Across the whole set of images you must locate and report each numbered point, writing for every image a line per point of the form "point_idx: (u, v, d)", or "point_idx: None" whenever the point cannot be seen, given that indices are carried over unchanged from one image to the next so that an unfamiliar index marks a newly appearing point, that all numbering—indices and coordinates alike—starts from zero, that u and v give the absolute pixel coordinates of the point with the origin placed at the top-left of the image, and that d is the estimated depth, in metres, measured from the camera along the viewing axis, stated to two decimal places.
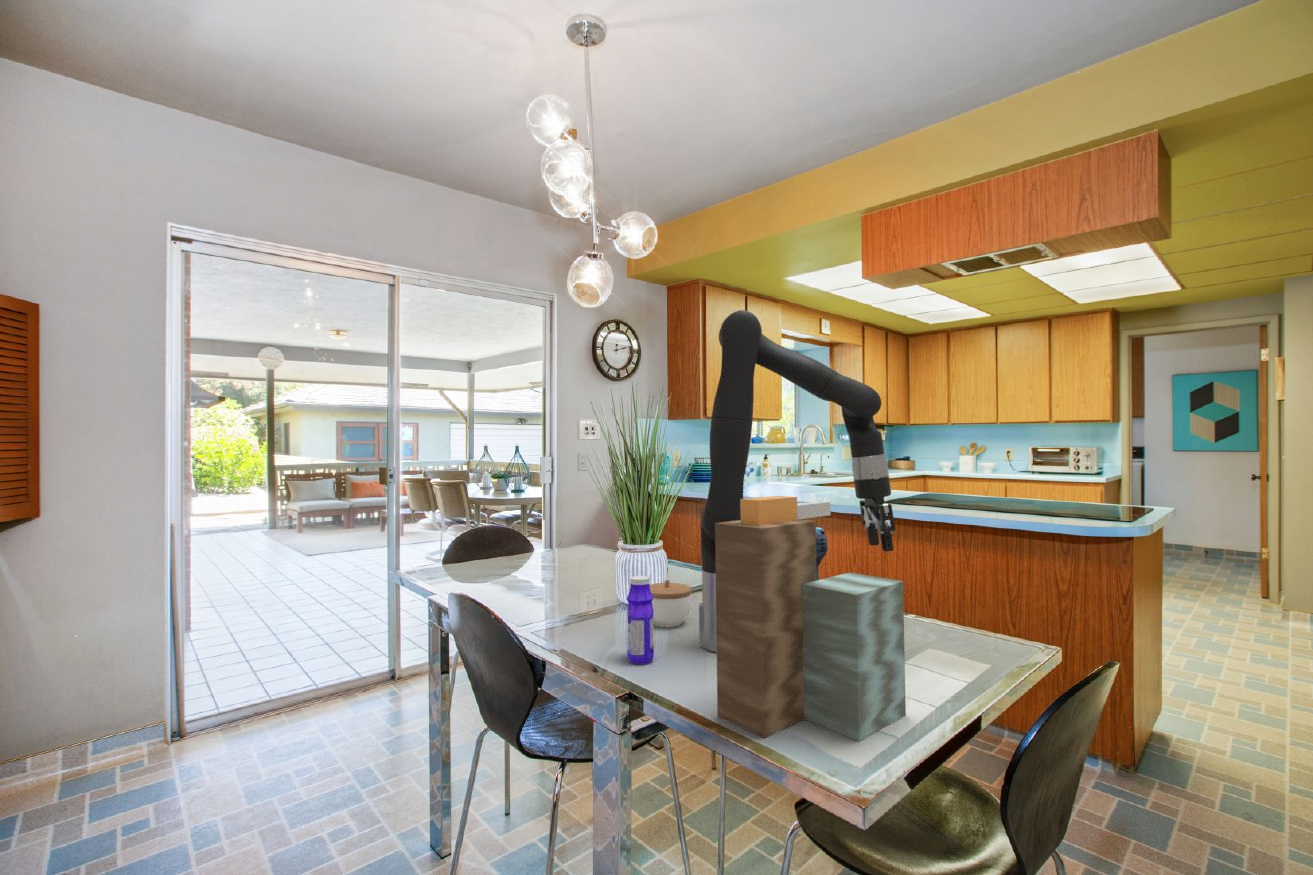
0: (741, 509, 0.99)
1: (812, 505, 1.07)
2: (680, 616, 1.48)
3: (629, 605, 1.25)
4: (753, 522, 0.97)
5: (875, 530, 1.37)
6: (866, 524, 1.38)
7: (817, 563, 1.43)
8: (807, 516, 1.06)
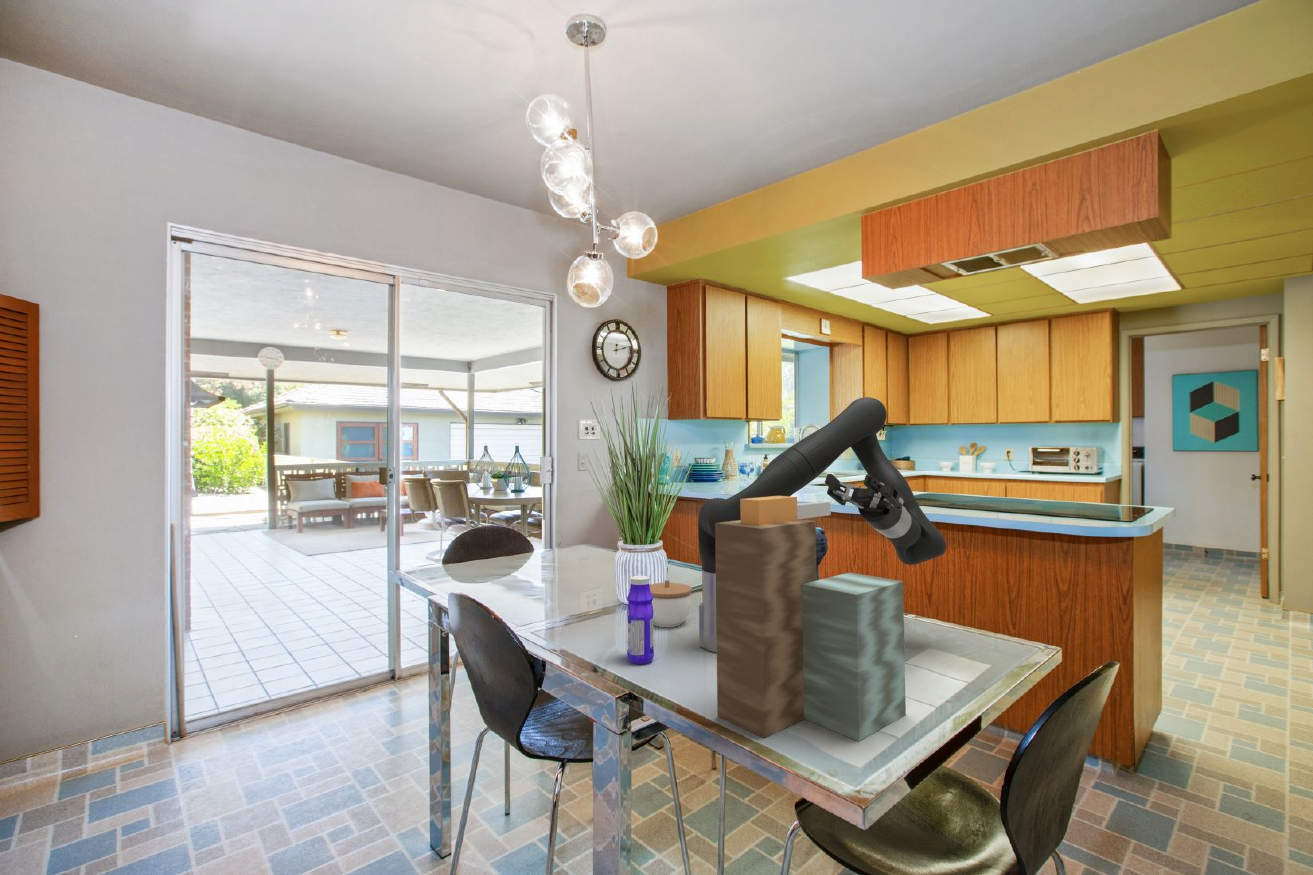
0: (741, 509, 0.99)
1: (812, 505, 1.07)
2: (680, 616, 1.48)
3: (629, 605, 1.25)
4: (753, 522, 0.97)
5: (836, 488, 1.21)
6: None
7: (817, 563, 1.43)
8: (807, 516, 1.06)
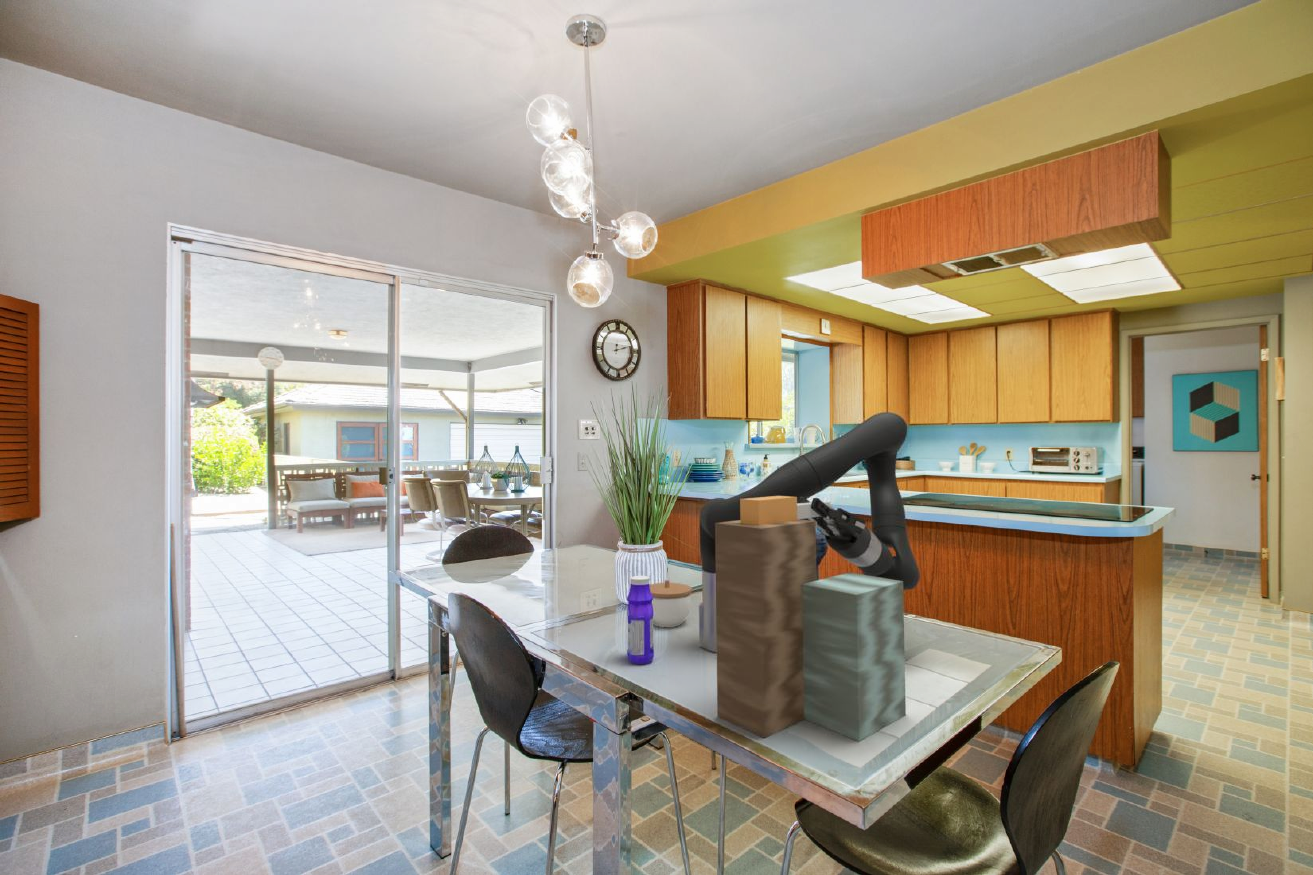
0: (741, 509, 0.99)
1: None
2: (680, 616, 1.48)
3: (629, 605, 1.25)
4: (753, 522, 0.97)
5: None
6: None
7: (817, 563, 1.43)
8: (807, 516, 1.06)
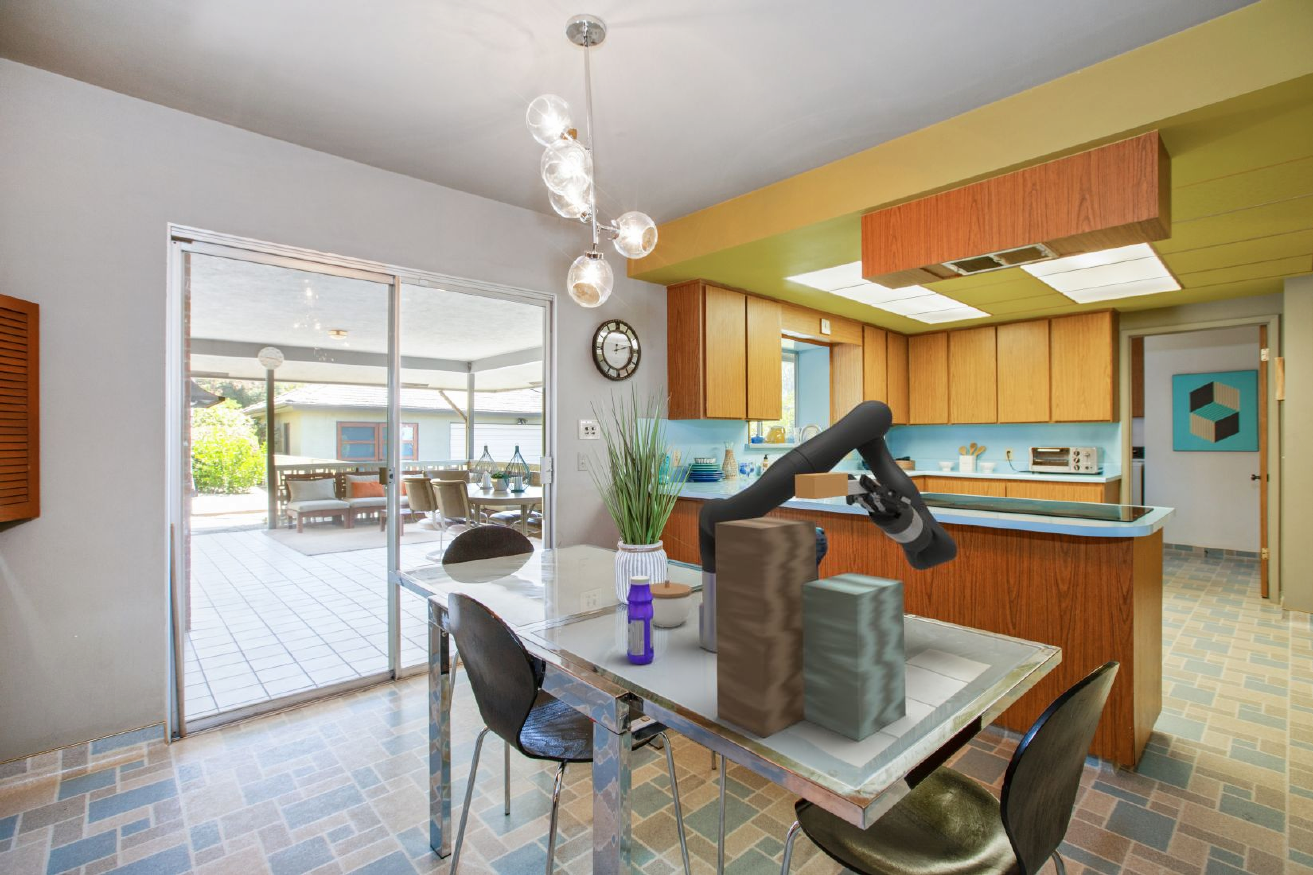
0: (796, 484, 1.03)
1: None
2: (680, 616, 1.48)
3: (629, 605, 1.25)
4: (808, 497, 1.01)
5: None
6: None
7: (817, 563, 1.43)
8: (856, 492, 1.10)
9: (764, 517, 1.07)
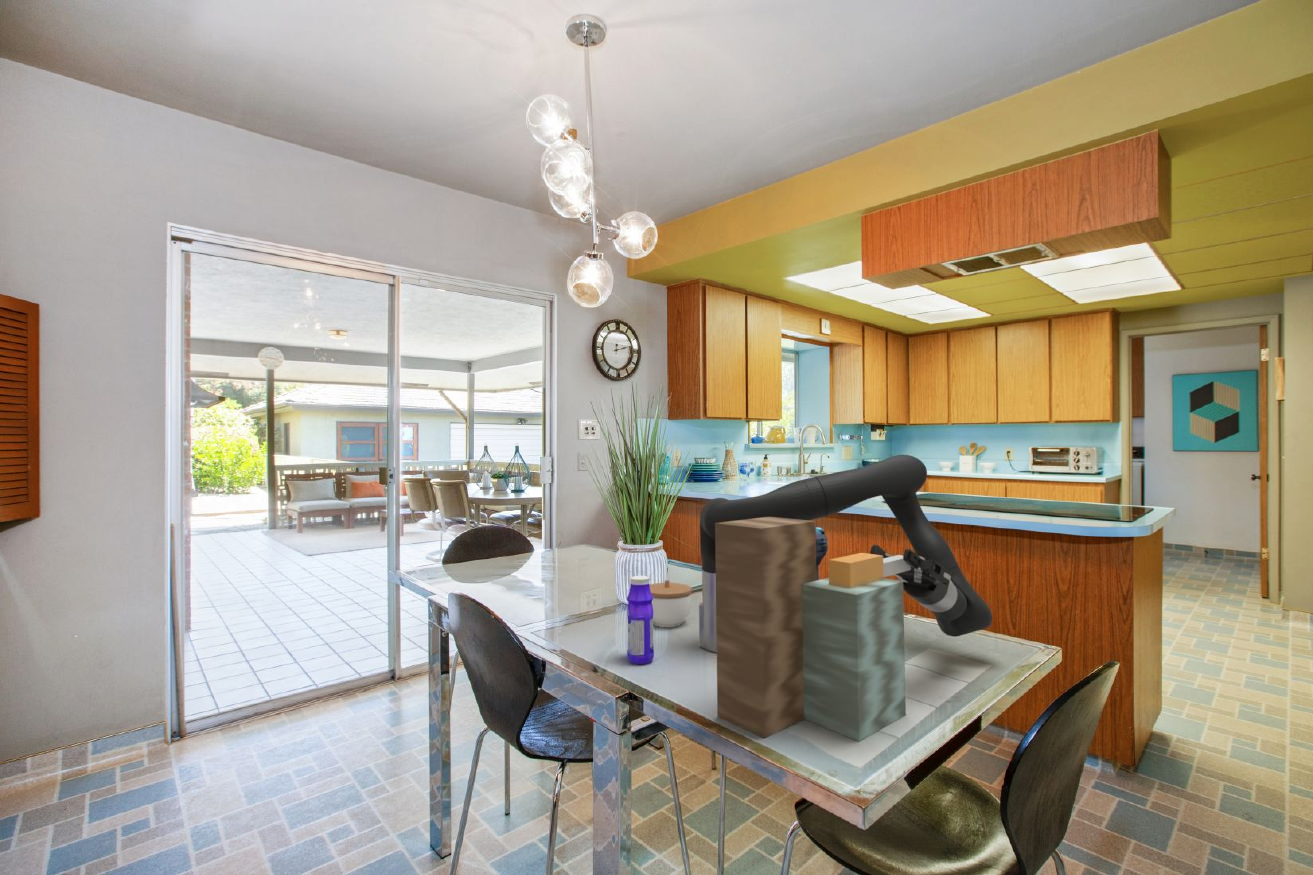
0: (829, 570, 0.98)
1: (895, 561, 1.05)
2: (680, 616, 1.48)
3: (629, 605, 1.25)
4: (843, 585, 0.96)
5: None
6: None
7: (817, 563, 1.43)
8: (891, 573, 1.04)
9: (764, 517, 1.07)
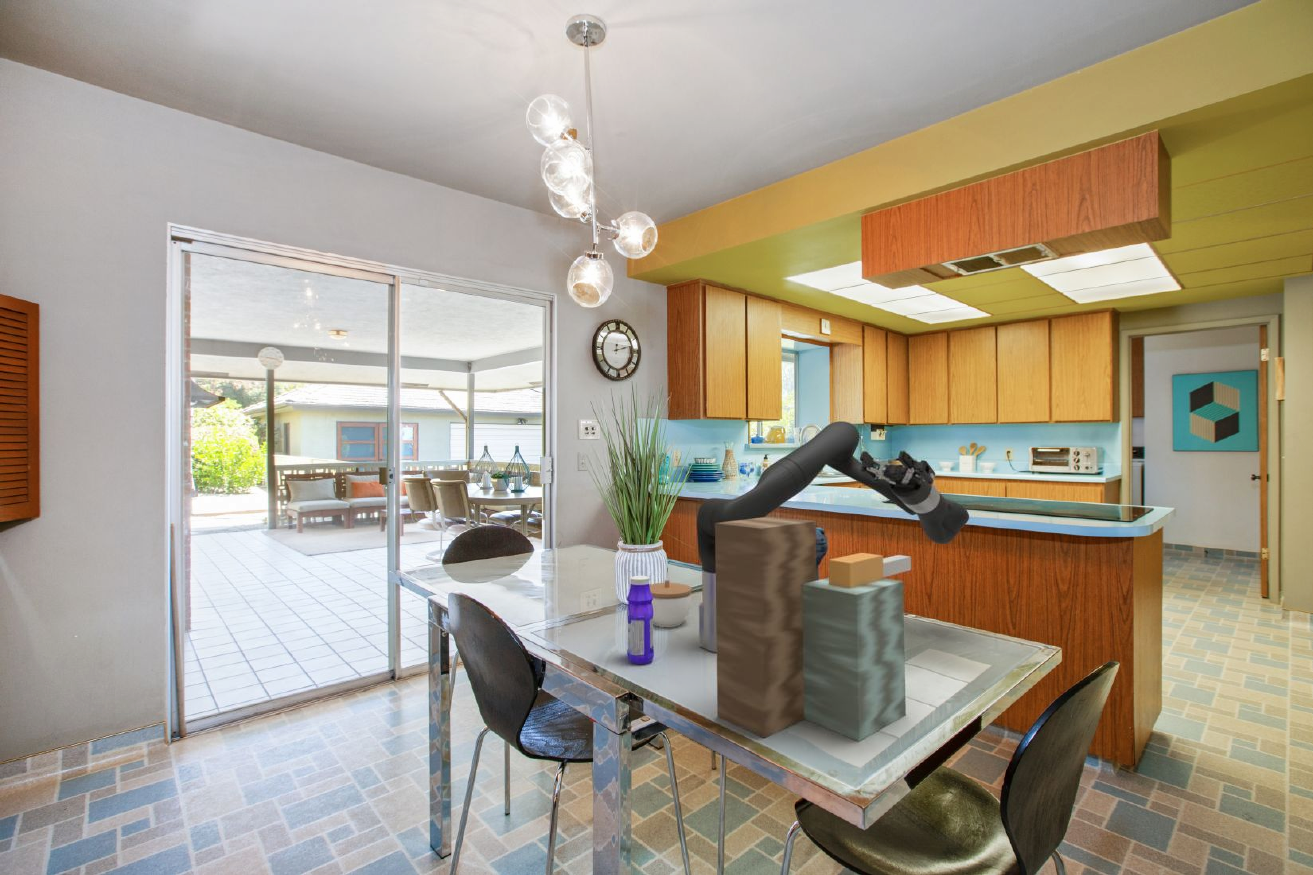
0: (829, 570, 0.98)
1: (895, 561, 1.05)
2: (680, 616, 1.48)
3: (629, 605, 1.25)
4: (843, 585, 0.96)
5: (870, 464, 1.29)
6: None
7: (817, 563, 1.43)
8: (891, 573, 1.04)
9: (764, 517, 1.07)
